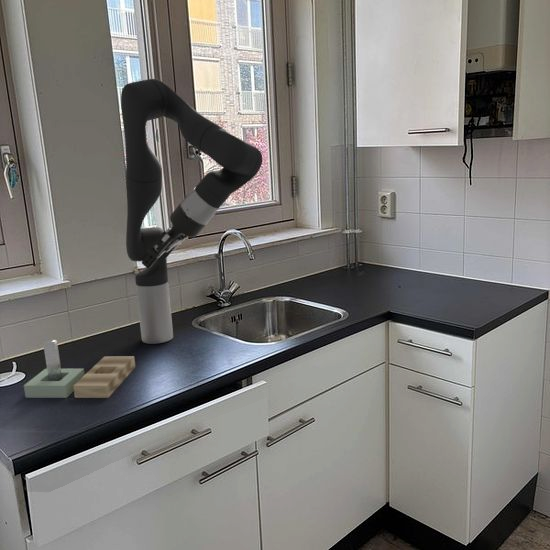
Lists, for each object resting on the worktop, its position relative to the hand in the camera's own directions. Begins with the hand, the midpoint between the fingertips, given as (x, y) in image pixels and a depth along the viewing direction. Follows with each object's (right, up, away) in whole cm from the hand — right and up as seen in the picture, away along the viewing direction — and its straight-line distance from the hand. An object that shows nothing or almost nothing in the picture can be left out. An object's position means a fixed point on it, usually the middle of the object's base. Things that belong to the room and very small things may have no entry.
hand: (152, 261), depth 132 cm
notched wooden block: (-12, -29, +5) cm, 32 cm away
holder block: (-24, -30, +2) cm, 38 cm away
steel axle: (-23, -30, +2) cm, 38 cm away
